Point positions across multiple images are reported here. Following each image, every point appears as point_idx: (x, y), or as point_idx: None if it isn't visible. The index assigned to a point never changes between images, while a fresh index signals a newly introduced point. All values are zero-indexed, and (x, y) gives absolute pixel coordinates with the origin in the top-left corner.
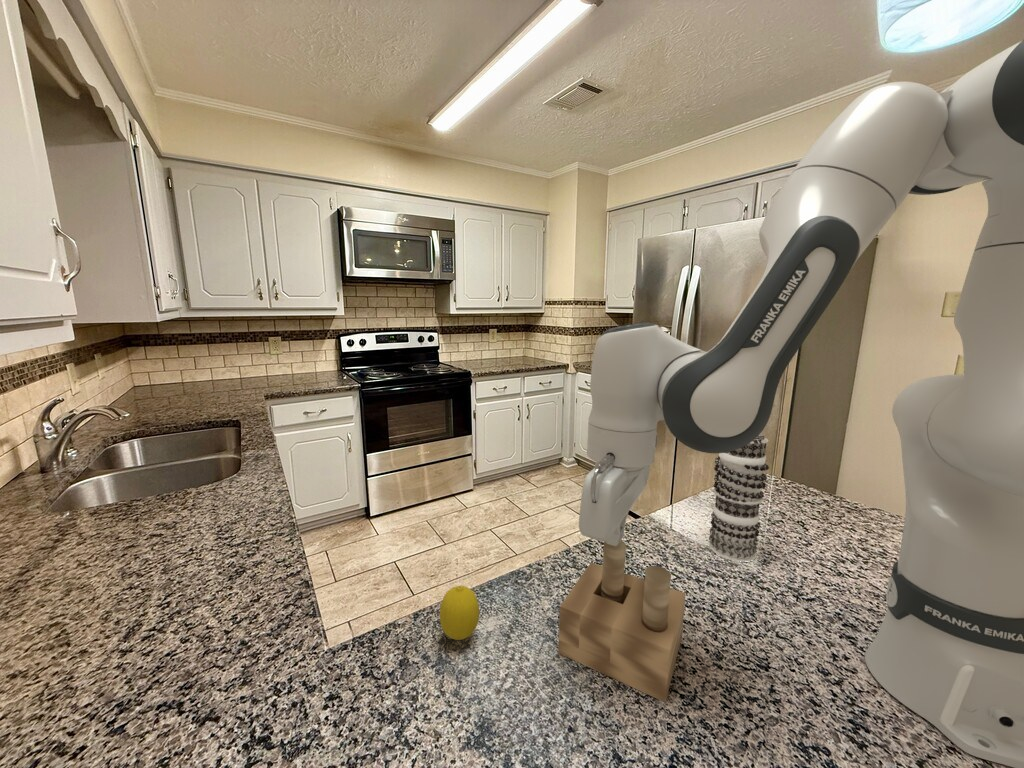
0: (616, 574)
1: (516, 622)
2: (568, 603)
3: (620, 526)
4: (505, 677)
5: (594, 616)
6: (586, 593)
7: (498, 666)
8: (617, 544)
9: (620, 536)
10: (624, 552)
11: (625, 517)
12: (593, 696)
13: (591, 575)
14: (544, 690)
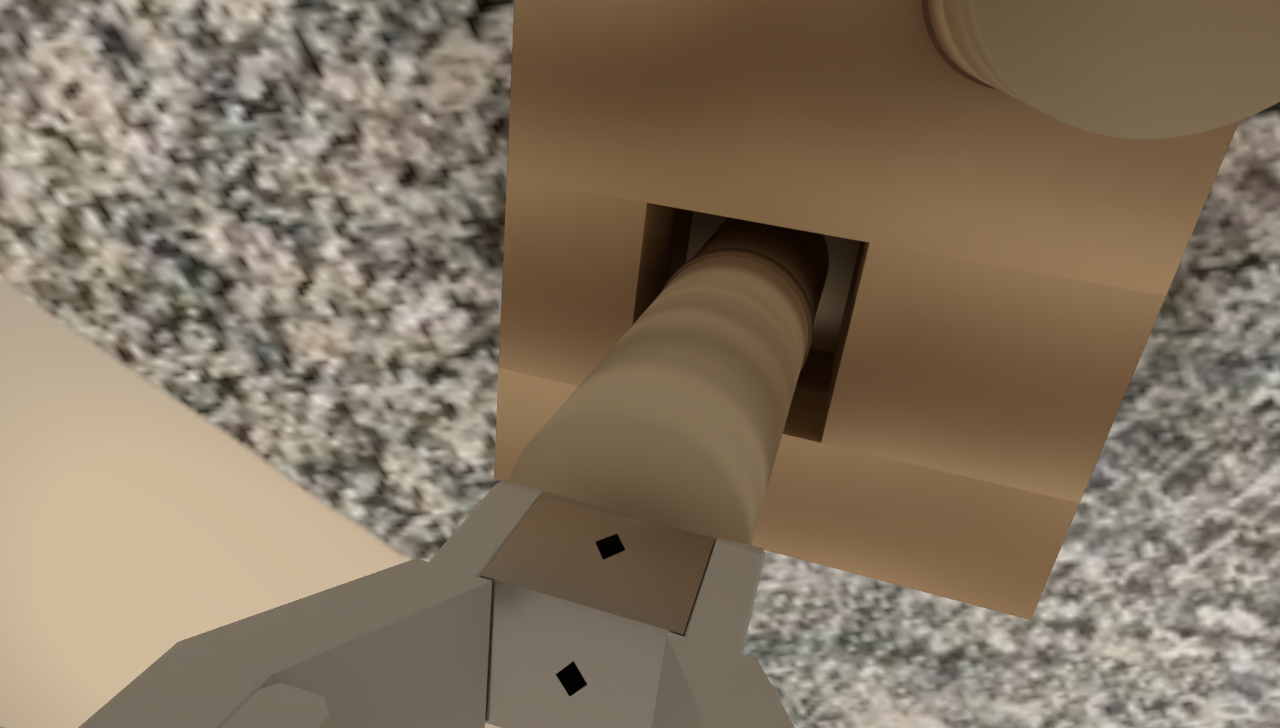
0: (779, 370)
1: (856, 640)
2: (982, 575)
3: (483, 618)
4: (1202, 634)
5: (1074, 417)
6: (835, 481)
7: (1145, 667)
8: (763, 557)
9: (640, 564)
10: (675, 398)
11: (340, 655)
12: (1228, 267)
13: None
14: (1241, 479)
